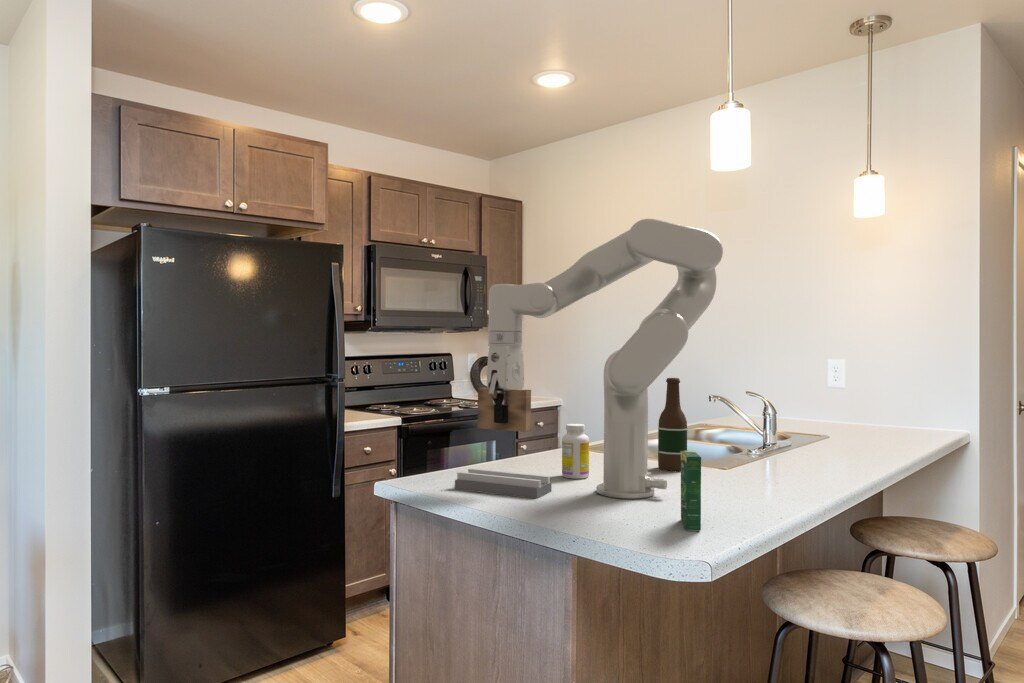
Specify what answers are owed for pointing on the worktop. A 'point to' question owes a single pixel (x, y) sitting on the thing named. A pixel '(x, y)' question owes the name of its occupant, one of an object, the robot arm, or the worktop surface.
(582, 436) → the supplement bottle
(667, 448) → the beer bottle
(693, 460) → the coffee box
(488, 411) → the door panel
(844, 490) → the worktop surface
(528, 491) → the rail
